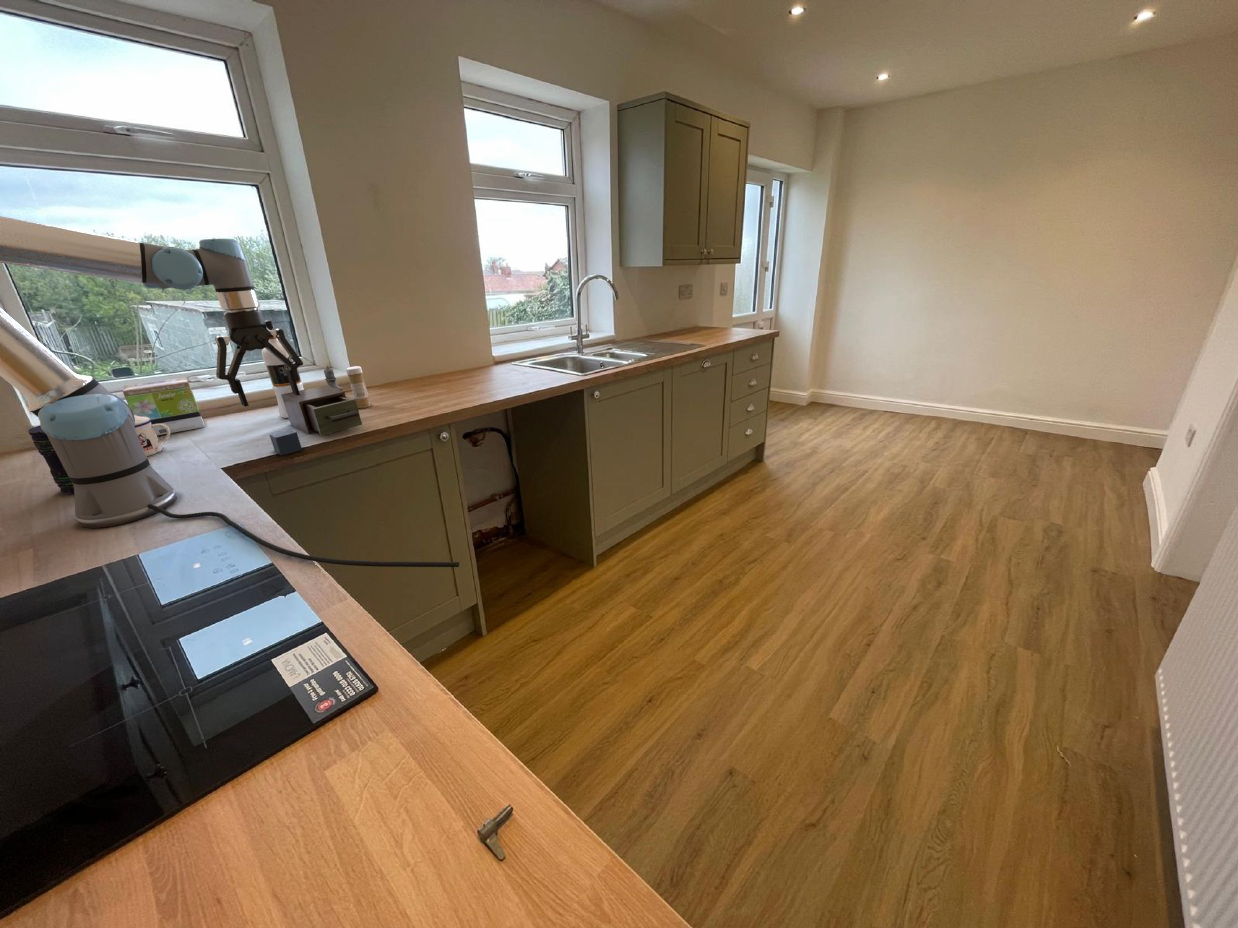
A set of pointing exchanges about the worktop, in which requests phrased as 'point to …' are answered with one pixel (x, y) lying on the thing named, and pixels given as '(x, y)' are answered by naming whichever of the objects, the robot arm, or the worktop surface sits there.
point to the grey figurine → (331, 379)
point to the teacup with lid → (149, 435)
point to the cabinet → (308, 395)
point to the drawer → (332, 414)
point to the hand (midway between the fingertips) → (271, 399)
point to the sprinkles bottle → (358, 386)
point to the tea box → (165, 404)
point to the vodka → (278, 371)
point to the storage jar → (52, 460)
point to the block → (285, 442)
